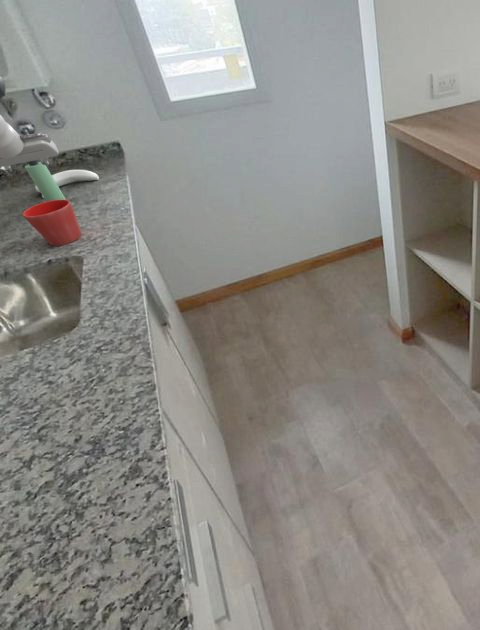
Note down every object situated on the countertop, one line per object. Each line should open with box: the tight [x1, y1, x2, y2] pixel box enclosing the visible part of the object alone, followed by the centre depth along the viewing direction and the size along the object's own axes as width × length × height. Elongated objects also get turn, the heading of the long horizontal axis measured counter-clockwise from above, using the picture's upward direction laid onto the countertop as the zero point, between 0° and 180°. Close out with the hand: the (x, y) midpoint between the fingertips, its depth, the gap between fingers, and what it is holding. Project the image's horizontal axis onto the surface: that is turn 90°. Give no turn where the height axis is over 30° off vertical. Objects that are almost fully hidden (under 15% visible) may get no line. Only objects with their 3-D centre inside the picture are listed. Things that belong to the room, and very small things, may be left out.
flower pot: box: [22, 199, 83, 247], centre depth 121 cm, size 11×11×10 cm
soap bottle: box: [24, 160, 67, 202], centre depth 143 cm, size 5×5×15 cm
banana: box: [34, 169, 100, 199], centre depth 158 cm, size 5×19×15 cm
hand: (27, 166), depth 133 cm, fingers open, 8 cm apart
